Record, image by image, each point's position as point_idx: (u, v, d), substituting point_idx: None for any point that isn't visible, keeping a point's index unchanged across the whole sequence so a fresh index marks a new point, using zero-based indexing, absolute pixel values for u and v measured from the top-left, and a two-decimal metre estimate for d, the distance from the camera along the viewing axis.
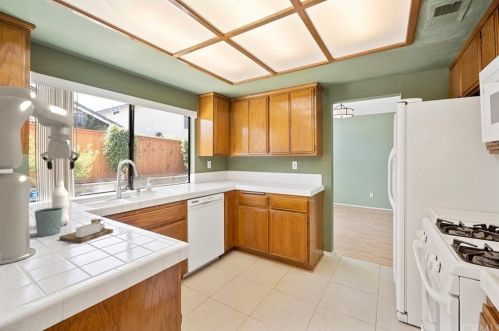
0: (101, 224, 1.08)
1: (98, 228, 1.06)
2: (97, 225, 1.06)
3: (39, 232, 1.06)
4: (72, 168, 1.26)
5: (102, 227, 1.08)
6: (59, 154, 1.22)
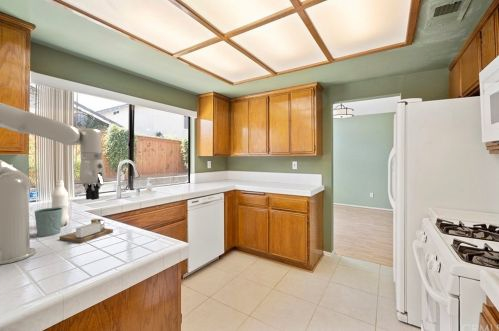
0: (101, 224, 1.08)
1: (98, 228, 1.06)
2: (97, 225, 1.06)
3: (39, 232, 1.06)
4: None
5: (102, 227, 1.08)
6: None
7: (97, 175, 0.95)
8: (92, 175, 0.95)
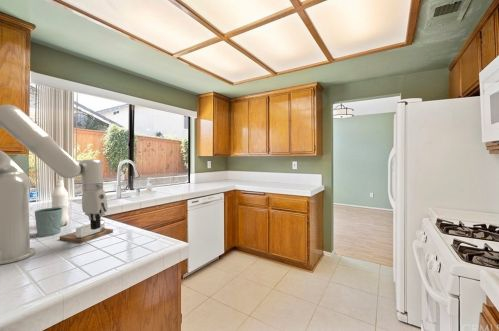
0: (101, 224, 1.08)
1: (98, 228, 1.06)
2: None
3: (39, 232, 1.06)
4: None
5: (102, 227, 1.08)
6: None
7: (99, 206, 0.96)
8: (94, 206, 0.96)
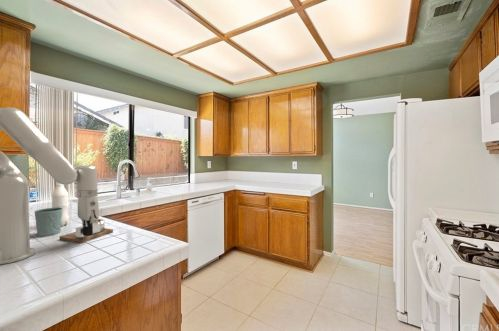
0: (101, 224, 1.08)
1: (98, 228, 1.06)
2: (97, 225, 1.06)
3: (39, 232, 1.06)
4: None
5: (102, 227, 1.08)
6: None
7: (89, 213, 0.96)
8: (85, 213, 0.96)
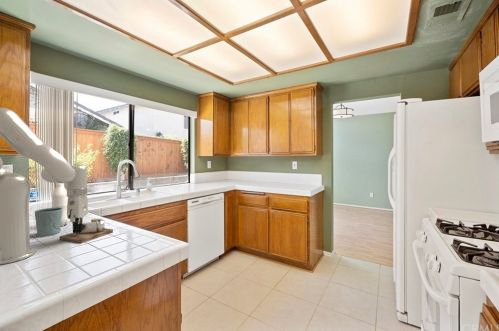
0: (97, 224, 1.07)
1: (94, 228, 1.07)
2: (93, 225, 1.07)
3: (39, 232, 1.06)
4: None
5: (98, 228, 1.07)
6: (84, 211, 1.04)
7: (68, 211, 0.98)
8: None
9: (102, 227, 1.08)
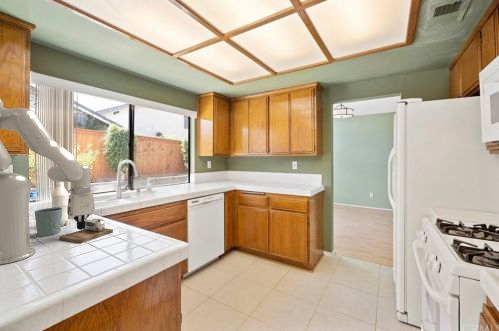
0: (95, 224, 1.07)
1: (94, 227, 1.08)
2: (93, 224, 1.08)
3: (39, 232, 1.06)
4: None
5: (96, 228, 1.07)
6: (85, 209, 1.07)
7: (67, 208, 1.04)
8: None
9: (99, 228, 1.07)
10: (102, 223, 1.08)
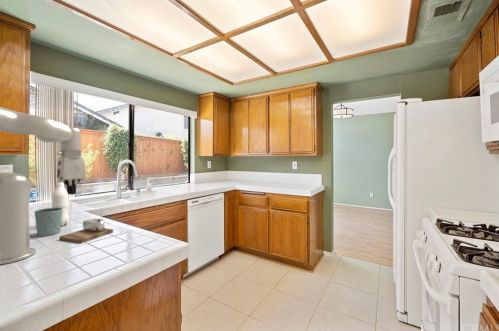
0: (95, 224, 1.07)
1: (94, 227, 1.08)
2: (93, 224, 1.08)
3: (39, 232, 1.06)
4: None
5: (96, 228, 1.07)
6: (76, 173, 1.03)
7: (57, 171, 0.99)
8: None
9: (99, 228, 1.07)
10: (102, 223, 1.08)
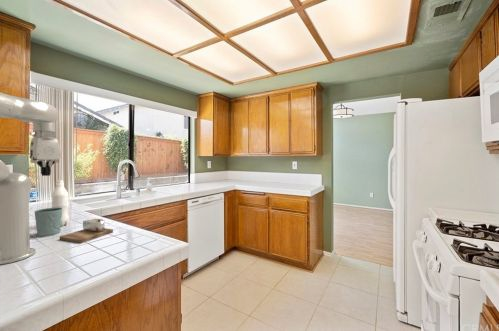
0: (95, 224, 1.07)
1: (94, 227, 1.08)
2: (93, 224, 1.08)
3: (39, 232, 1.06)
4: None
5: (96, 228, 1.07)
6: (50, 155, 1.03)
7: (30, 152, 0.99)
8: None
9: (99, 228, 1.07)
10: (102, 223, 1.08)
